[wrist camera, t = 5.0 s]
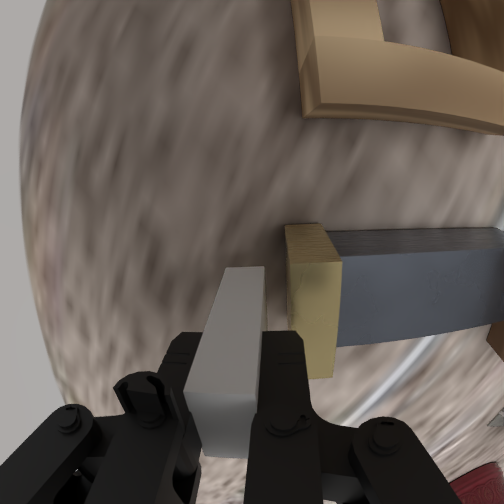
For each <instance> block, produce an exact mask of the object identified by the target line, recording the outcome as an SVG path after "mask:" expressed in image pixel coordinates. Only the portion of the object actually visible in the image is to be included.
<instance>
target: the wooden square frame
mask: <svg viewBox="0 0 504 504" xmlns="http://www.w3.org/2000/svg"><path fill="white" fill-rule="evenodd" d="M290 1H291V8H292V16H293V24H294V32H295V41H296V50H297V60H298V70H299V81H300V93H301V106H302V118H345V119H370V120H386V121H398V122H409V123H418V124H427V125H435V126H442V127H449V128H455V129H462V130H467V131H473V132H478V133H483V134H490V135H503V136H504V0H440V3H441V6H442V10H443V14H444V18H445V22H446V26H447V30H448V35H449V40H450V45H451V50H452V55H449V54H445V53H442V52H437V51H433V50H429V49H424V48H420V47H415V46H409V45H404V44H398V43H392V42H385V41H384V38H383V32H382V26H381V21H380V16H379V11H378V6H377V2H376V0H290Z"/></svg>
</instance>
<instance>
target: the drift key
mask: <svg viewBox="0 0 504 504" xmlns="http://www.w3.org/2000/svg"><path fill="white" fill-rule="evenodd" d="M285 248H286V282H287V323H288V331H289V330H295V331H296V332H297V333H298V334H299V335H300V337H301V338H302V339H303V341H304V349H305V357H306V365H307V374H308V379H319V378H332V377H333V369H334V361H335V352H336V347H343V346H354V345H364V344H373V343H382V342H390V341H397V340H405V339H412V338H418V337H425V336H431V335H437V334H442V333H448V332H453V331H459V330H464V329H469V328H473V327H478V326H483V325H487V324H491V323H496V322H500V321H504V232H503V231H502V230H500V229H498V228H457V229H410V230H374V231H344V232H325V230H324V228H323V226H322V225H321V224H297V225H285Z"/></svg>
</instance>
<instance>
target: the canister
mask: <svg viewBox="0 0 504 504" xmlns="http://www.w3.org/2000/svg"><path fill="white" fill-rule="evenodd" d="M450 486H451V487H452V489H453V490H454V492H455V493H456V495H457V496H458V498H459V499H460V501H461V502H462V504H504V476H503V472H502V469H501V468H500V467H499V466H498V464H497V463H489V464H486V465H484V466H481V467H479V468H477V469H475V470H473V471H471V472H469V473H467V474H465V475H464V476H462V477H460V478H458V479H457V480H455V481H453V482H451V483H450Z"/></svg>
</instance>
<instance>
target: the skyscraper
mask: <svg viewBox="0 0 504 504" xmlns="http://www.w3.org/2000/svg"><path fill="white" fill-rule="evenodd" d="M487 426H504V408H503V409H502V410H501V411H500V412H499V413H498V414H497V415H496V416H495V418H494V419H493V420H492V421H491V422H490V423H489V424H488V425H487Z"/></svg>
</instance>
